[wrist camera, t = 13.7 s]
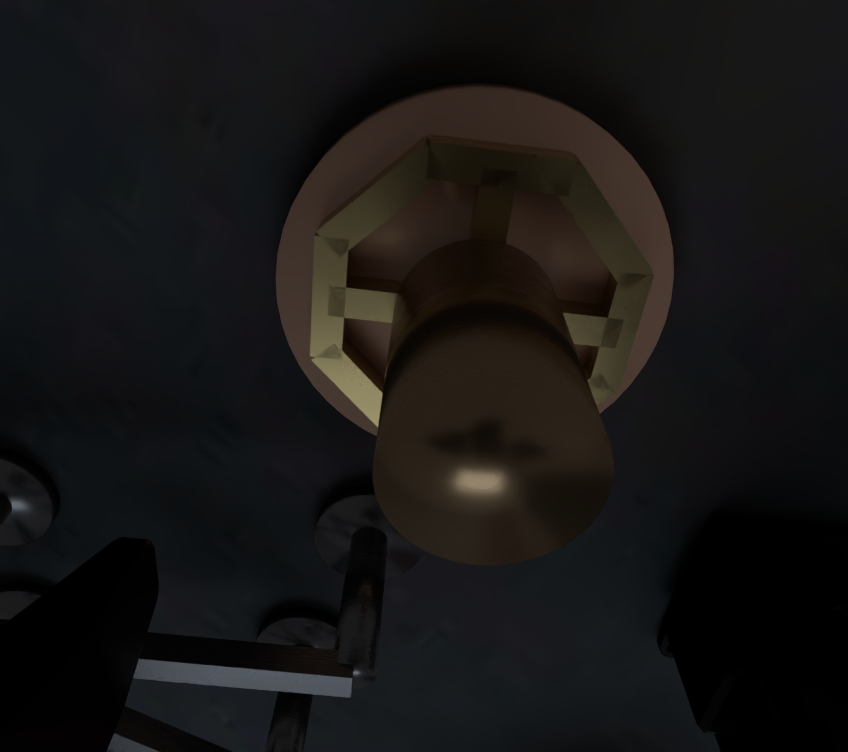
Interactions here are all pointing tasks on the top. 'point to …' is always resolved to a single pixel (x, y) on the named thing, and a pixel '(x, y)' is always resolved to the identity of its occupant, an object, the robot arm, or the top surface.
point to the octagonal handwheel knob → (482, 356)
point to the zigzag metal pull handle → (278, 635)
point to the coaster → (470, 216)
